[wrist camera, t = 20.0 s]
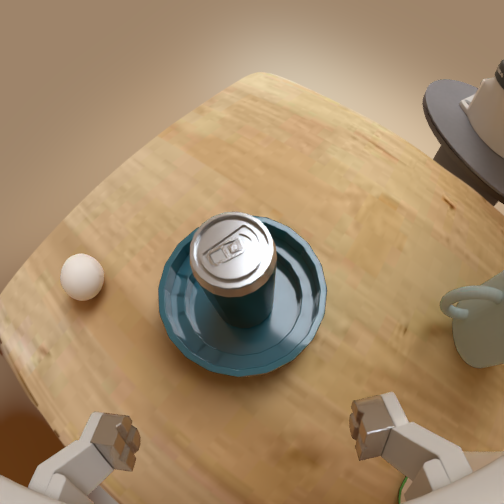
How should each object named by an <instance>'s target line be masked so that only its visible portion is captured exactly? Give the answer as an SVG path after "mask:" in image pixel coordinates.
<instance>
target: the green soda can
mask: <svg viewBox="0 0 504 504" xmlns="http://www.w3.org/2000/svg"><path fill="white" fill-rule="evenodd" d="M276 263H277V254H276V245H275V243H274V241H273V239H272V237H271V235H270V233H269V231H268V229H267V228H266V227H265V225H264V224H263V223H262V222H261V221H260V220H258V219H257V218H255V217H253V216H251V215H249V214H245V213H240V212H225V213H221V214H219V215H216V216H213V217H211V218H210V219H208V220H207V221H205V222H204V223H203V224H202V225H201V226H200V227H199V228H198V230H197V231H196V232H195V234H194V236H193V239H192V241H191V244H190V266H191V269H192V272H193V275H194V277H195V279H196V280H197V282H198V283H199V285H200V286H201V288H202V289H203V291H204V293H205V294H206V296H207V297H208V299H209V300H210V302H211V303H212V305H213V306H214V308H215V309H216V311H217V312H218V314H219V315H220V316H221V318H222V319H223V320H224V321H225V322H227V323H228V324H230V325H231V326H234V327H238V328H250V327H253V326H256V325H258V324H260V323H261V322H262V321H264V320H265V319H266V318H267V316H268V315H269V313H270V312H271V309H272V305H273V299H274V288H275V276H276Z"/></svg>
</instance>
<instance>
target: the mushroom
mask: <svg viewBox="0 0 504 504" xmlns="http://www.w3.org/2000/svg"><path fill="white" fill-rule="evenodd" d="M60 281H61V285H62V287H63V289H64V290H65V292H66V293H67V294H68V295H69V296H70V297H72V298H74V299H76V300H80V301H85V300H89V299H92V298H93V297H95V296H96V295H97V294H98V293H99V291H100V290H101V288H102V285H103V282H104V271H103V268H102V266H101V265H100V264H99V262H98V261H97V260H96V259H94V258H93V257H91V256H89V255H86V254H76V255H73V256H71V257H69V258H68V259H67V260H66V262H65V263H64V265H63V267H62V270H61V275H60Z"/></svg>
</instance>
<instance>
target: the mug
mask: <svg viewBox="0 0 504 504" xmlns="http://www.w3.org/2000/svg"><path fill="white" fill-rule="evenodd" d="M456 302H459V303H458V305H457V307H455V306H453V305H451V304H453V303H456ZM440 308H441V311H442V312H443V313H444V314H445V315H447V316H449V317H451V318H453V338H454V342H455V346H456V348H457V351H458V353H459V354H460V356H461V357H462V359H463V360H464V361H465V362H466V363H467V364H469V365H470V366H472V367H475V368H485V367H490V366H495V365H499V364H504V270H503V271H502V272H500V273H499V274H497V275H496V276H494V277H493V278H491V279H490V280H488V281H486V282H485V283H483V284H482V285H480V286H466V287H461V288H457V289H454V290H452V291H450V292H448V293H447V294H445V295H444V296H443V297H442V299H441V301H440Z"/></svg>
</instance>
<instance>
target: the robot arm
mask: <svg viewBox="0 0 504 504" xmlns="http://www.w3.org/2000/svg"><path fill="white" fill-rule="evenodd" d="M459 105H460V107H461V108H462V110H463V111H464V112H465V113H466V115H467V117H468V119H469V121H470V123H471V125H472V127H473V129H474V130H475V132H476V133H477V134H478V135H479V137H480V138H481V139H482V140H483V141H484V142H485V143H486V144H487V145H488V146H489V147H490V148H491V149H492V150H493V151H494V152H495V153H497V154H498V155H499V156H501V157H502V158H504V60H502V61H501V63H500V64H499V65H498V67H497V71H496V72H495V77H493V78H488V79H483V80H482V81H481V83H480V87H479V88H478V90H477V92H476V93H475V94H474V95H472V96H470V97H467V98H465V99H463V100H461V102H460V103H459ZM351 409H352V412H353V413H352V414H351V415H350V418H349V427H350V432H351V436H352V438H353V439H355V440H356V445H355V449H356V452H357V455H358V458H359V461H360V460H365V459H369V458H374V457H378V456H381V457H382V458H384V459H385V460H386V461H387V462H389V463H390V464H391V465H392V466H394V467H395V468H396V469H397V470H399V471H400V472H401V473H403V474H404V475H405V476H407V477H408V478H409V479H410V480H412V481H413V482H412V483H411V485H410V486H409V488H408V489H407V491H406V492H405V493H404V497H405V500H406V502H403V503H401V504H504V455H502V456H500V457H499V458H497V459H496V460H494V461H492V462H491V463H489V464H487V465H485V466H484V467H482V468H480V469H478V470H476V471H474V472H473V470H472V468H471V466H470V464H469V462H468V460H467V459H466V457H465V455H464V453H463V451H462V449H461V447H460V446H458V445H456V444H454V443H452V442H450V441H448V440H446V439H444V438H442V437H440V436H438V435H436V434H435V433H433V432H431V431H429V430H427V429H425V428H424V427H422V426H420V425H418V424H416V423H414V422H410V423H409V421H408V419H407V417H406V415H405V413H404V411H403V409H402V407H401V405H400V403H399V401H398V399H397V397H396V395H395V394H394V393H393V392H389V393H385V394H381V395H376V396H372V397H368V398H363V399H359V400H355V401H353V402H352V406H351ZM131 424H132V420H131V418H130V417H129V416H126V415H118V414H110V413H102V412H95V411H94V412H93V413H92V414H91V416H90V418H89V420H88V422H87V424H86V426H85V428H84V430H83V432H82V435H81V437H80V439H79V441H78V440H75V441H74V442H72V443H71V444H69V445H68V446H67V447H65V448H64V449H62V450H61V451H59V452H58V453H56V454H55V455H53V456H52V457H50V458H49V459H47V460H46V461H44V462H43V463H41V464H40V465H38V467H37V469H36V471H35V473H34V475H33V477H32V479H31V481H30V484H29V486H28V488H26V487H24V486H22V485H20V484H18V483H16V482H14V481H12V480H10V479H8V478H6V477H4V476H2V475H0V504H95V503H94V502H93V501H91V500H90V499H89V498H88V497H87V496H88V495H89V494H90V493H91V492H92V491H93V490H94V489H95V488H96V487H97V486H98V485H99V484H100V483H101V482H102V481H103V480H104V479H105V478H106V477H107V476H108V475H109V474H110V473H111V472H112V471H113V470H114V469H118V470H125V471H133V468H134V465H135V461H136V457H135V455H134V453H136V452H137V451H138V450H139V447H140V434H139V432H138V430H137V428H135V427H134V426H133V425H131Z"/></svg>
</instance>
